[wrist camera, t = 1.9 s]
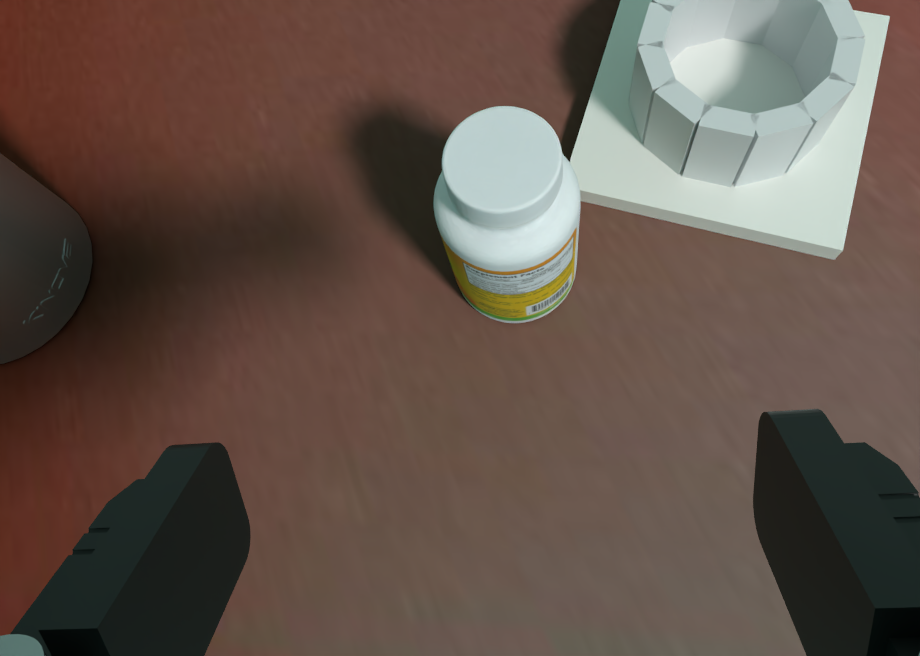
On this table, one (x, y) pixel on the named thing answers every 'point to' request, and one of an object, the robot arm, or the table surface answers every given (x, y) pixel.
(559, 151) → the supplement bottle
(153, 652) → the robot arm
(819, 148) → the sleeve holder
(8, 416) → the table surface
